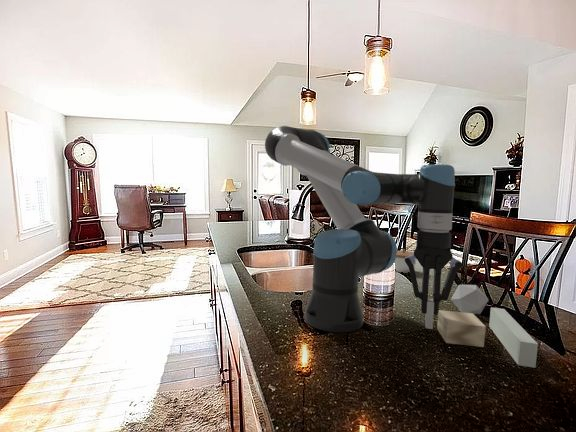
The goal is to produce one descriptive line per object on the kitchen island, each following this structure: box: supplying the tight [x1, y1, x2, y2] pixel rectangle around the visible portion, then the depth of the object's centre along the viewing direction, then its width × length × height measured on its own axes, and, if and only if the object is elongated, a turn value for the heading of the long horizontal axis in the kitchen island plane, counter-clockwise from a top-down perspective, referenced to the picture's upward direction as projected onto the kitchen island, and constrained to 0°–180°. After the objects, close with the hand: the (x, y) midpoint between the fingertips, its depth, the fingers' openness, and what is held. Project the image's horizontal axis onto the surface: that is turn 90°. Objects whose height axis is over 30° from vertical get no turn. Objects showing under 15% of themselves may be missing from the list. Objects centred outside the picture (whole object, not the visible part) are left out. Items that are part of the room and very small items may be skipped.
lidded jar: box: [394, 248, 418, 274], centre depth 141 cm, size 11×11×9 cm
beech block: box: [436, 309, 487, 348], centre depth 79 cm, size 8×8×5 cm
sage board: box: [488, 307, 539, 368], centre depth 76 cm, size 3×20×5 cm, turn 163°
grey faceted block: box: [450, 284, 489, 315], centre depth 96 cm, size 8×9×10 cm
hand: (428, 326), depth 81 cm, fingers closed
